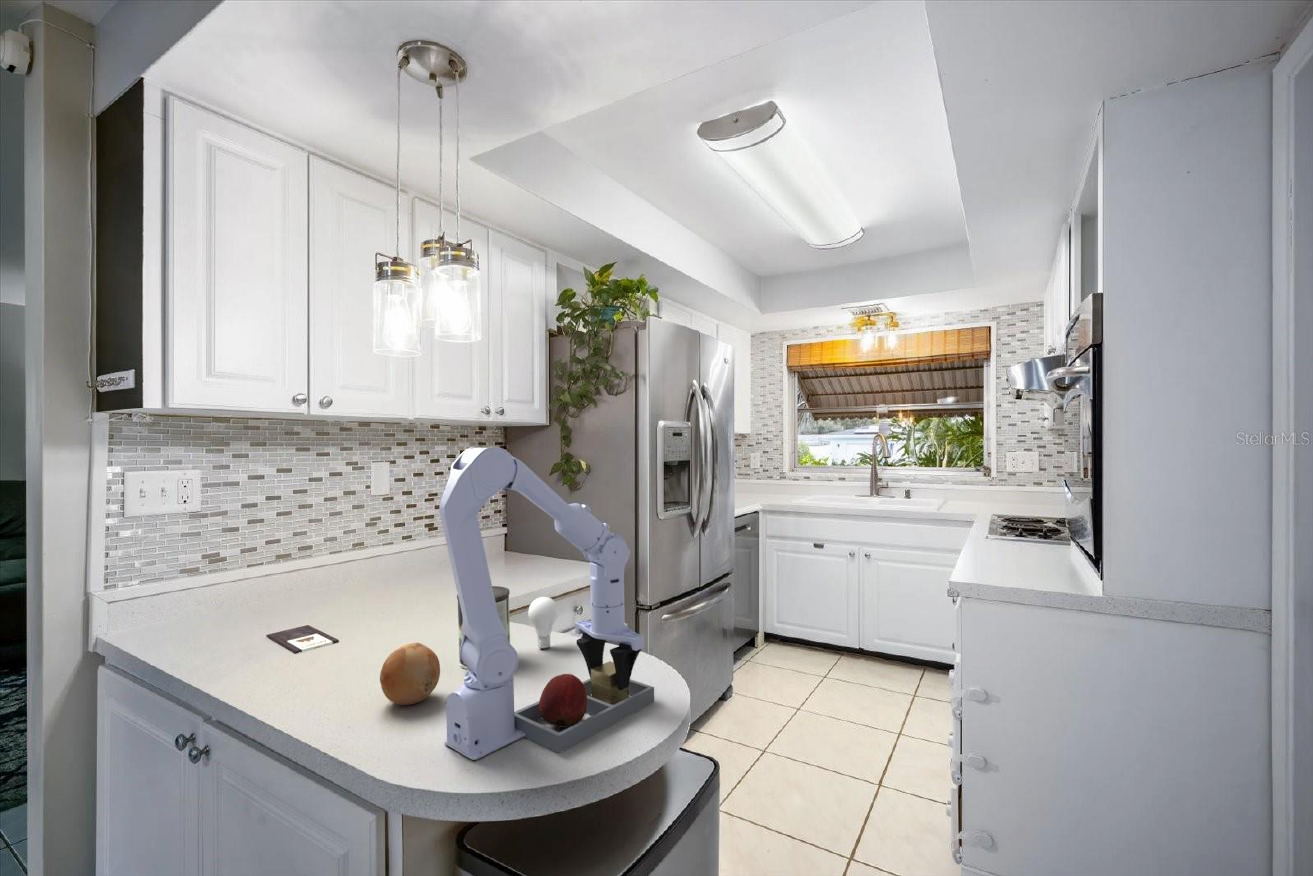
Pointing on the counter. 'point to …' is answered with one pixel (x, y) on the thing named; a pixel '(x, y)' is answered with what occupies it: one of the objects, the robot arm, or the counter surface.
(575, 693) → the apple
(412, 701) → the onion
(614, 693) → the wooden block
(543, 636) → the lightbulb
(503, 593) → the coffee can
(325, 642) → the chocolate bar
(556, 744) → the grey divided tray
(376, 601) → the counter surface
